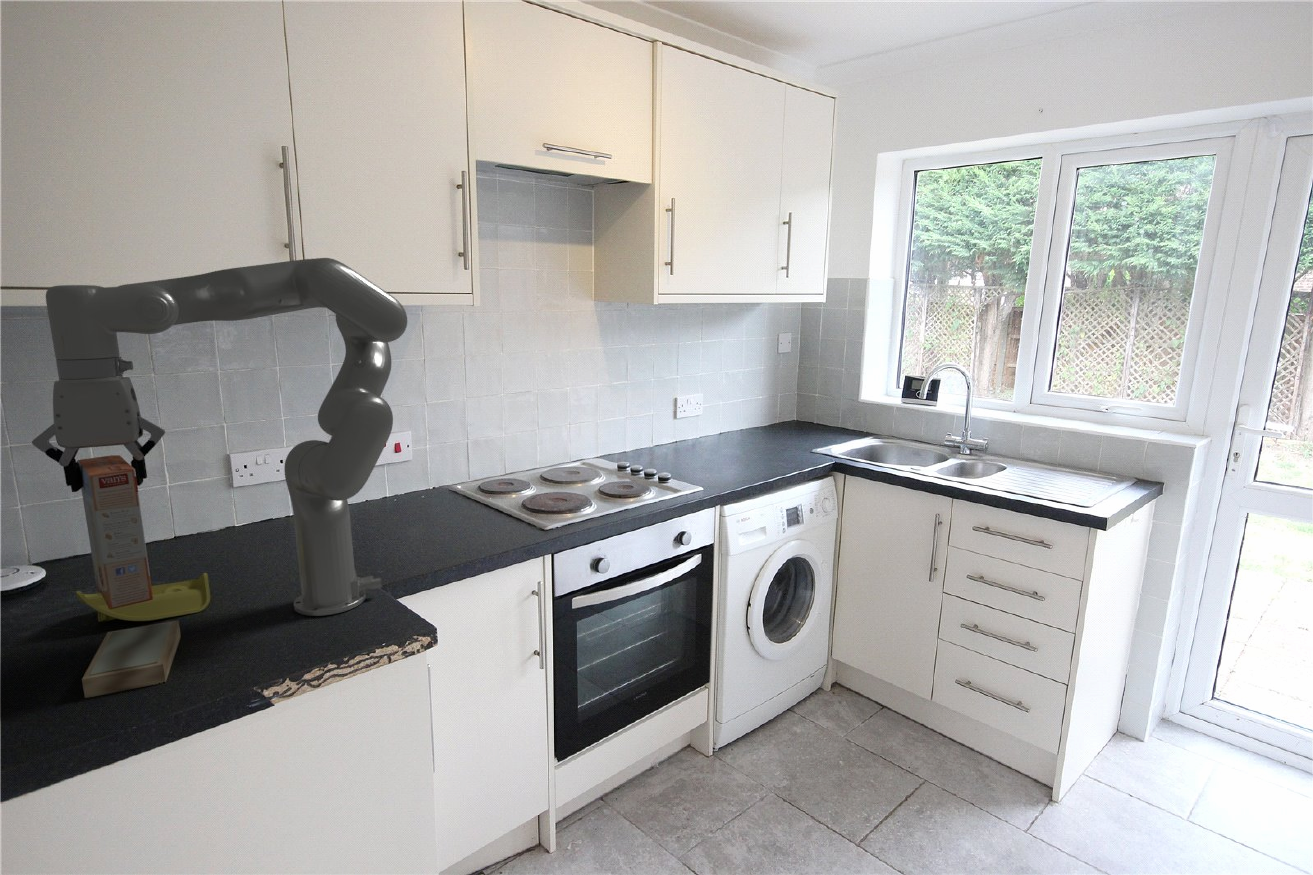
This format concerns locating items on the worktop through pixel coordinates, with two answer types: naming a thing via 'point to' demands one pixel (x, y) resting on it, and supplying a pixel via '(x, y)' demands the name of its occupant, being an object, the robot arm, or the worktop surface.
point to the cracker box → (115, 530)
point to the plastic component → (156, 602)
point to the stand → (132, 659)
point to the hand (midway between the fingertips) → (108, 485)
